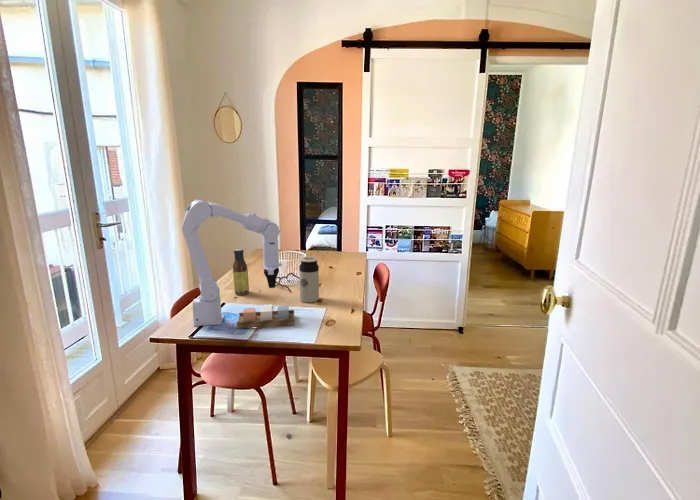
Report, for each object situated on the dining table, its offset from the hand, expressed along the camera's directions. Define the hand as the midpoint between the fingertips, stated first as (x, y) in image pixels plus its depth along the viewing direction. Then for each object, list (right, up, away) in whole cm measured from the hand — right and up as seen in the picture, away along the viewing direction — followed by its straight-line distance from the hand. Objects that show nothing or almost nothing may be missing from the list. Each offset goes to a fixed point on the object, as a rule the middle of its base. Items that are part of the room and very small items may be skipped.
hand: (272, 287), depth 151 cm
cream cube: (0, -11, -8) cm, 13 cm away
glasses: (+3, -3, +33) cm, 33 cm away
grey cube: (+6, -10, -7) cm, 14 cm away
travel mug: (+13, -7, +15) cm, 21 cm away
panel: (0, -12, -8) cm, 14 cm away
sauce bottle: (-18, -5, +22) cm, 29 cm away
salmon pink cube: (-6, -11, -9) cm, 15 cm away
